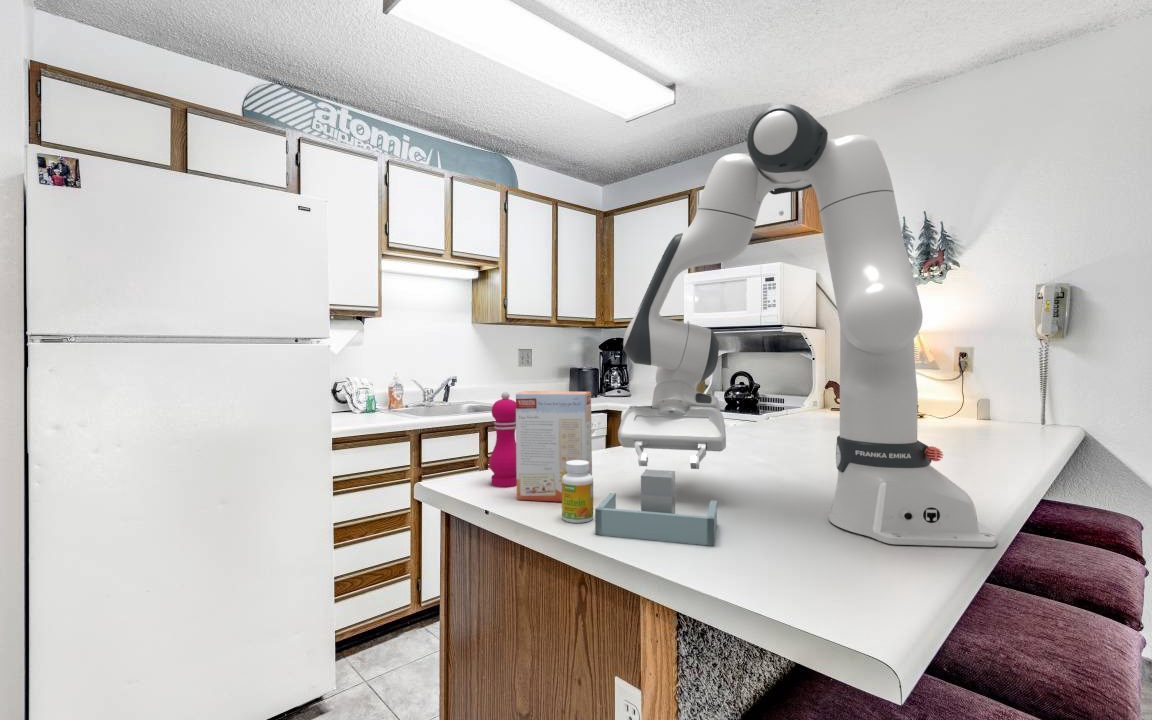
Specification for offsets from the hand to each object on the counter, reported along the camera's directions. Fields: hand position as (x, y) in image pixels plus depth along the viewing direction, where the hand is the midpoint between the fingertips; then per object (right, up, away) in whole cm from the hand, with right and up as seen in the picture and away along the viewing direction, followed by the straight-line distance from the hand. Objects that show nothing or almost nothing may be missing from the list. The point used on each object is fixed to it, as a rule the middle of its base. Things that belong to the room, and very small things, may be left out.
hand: (668, 465), depth 98 cm
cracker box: (-21, -8, +7) cm, 24 cm away
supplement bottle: (-17, -8, -6) cm, 19 cm away
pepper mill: (-32, -8, +19) cm, 38 cm away
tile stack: (-4, -8, -11) cm, 14 cm away
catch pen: (-4, -8, -11) cm, 14 cm away
